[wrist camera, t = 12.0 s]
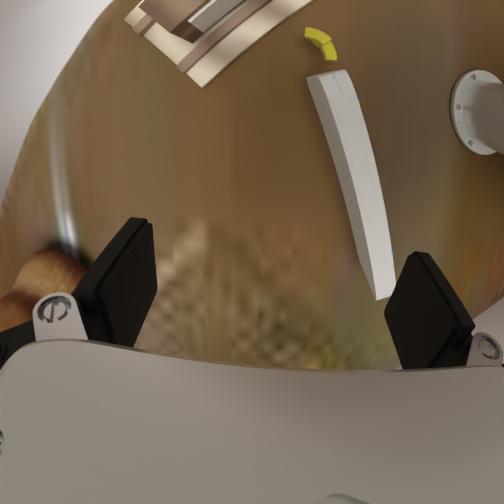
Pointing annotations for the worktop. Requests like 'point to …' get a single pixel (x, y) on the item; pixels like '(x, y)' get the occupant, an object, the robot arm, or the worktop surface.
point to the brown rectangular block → (188, 15)
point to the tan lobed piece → (39, 285)
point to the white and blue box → (354, 167)
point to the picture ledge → (216, 36)
